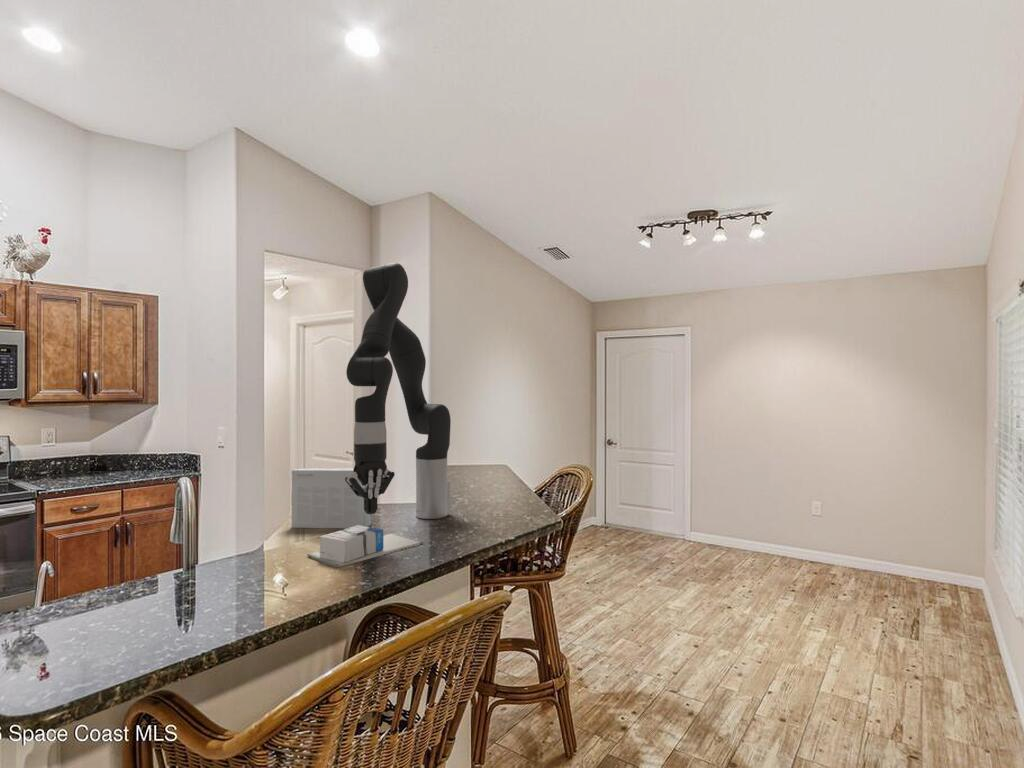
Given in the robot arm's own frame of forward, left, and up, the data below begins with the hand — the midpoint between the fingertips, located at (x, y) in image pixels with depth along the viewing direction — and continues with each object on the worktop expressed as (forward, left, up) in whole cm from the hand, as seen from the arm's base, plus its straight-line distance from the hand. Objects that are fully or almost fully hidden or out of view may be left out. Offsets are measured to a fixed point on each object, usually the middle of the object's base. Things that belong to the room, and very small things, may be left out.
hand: (370, 513), depth 137 cm
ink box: (0, 0, -6) cm, 6 cm away
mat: (+1, 0, -8) cm, 9 cm away
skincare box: (-6, -27, -9) cm, 29 cm away
